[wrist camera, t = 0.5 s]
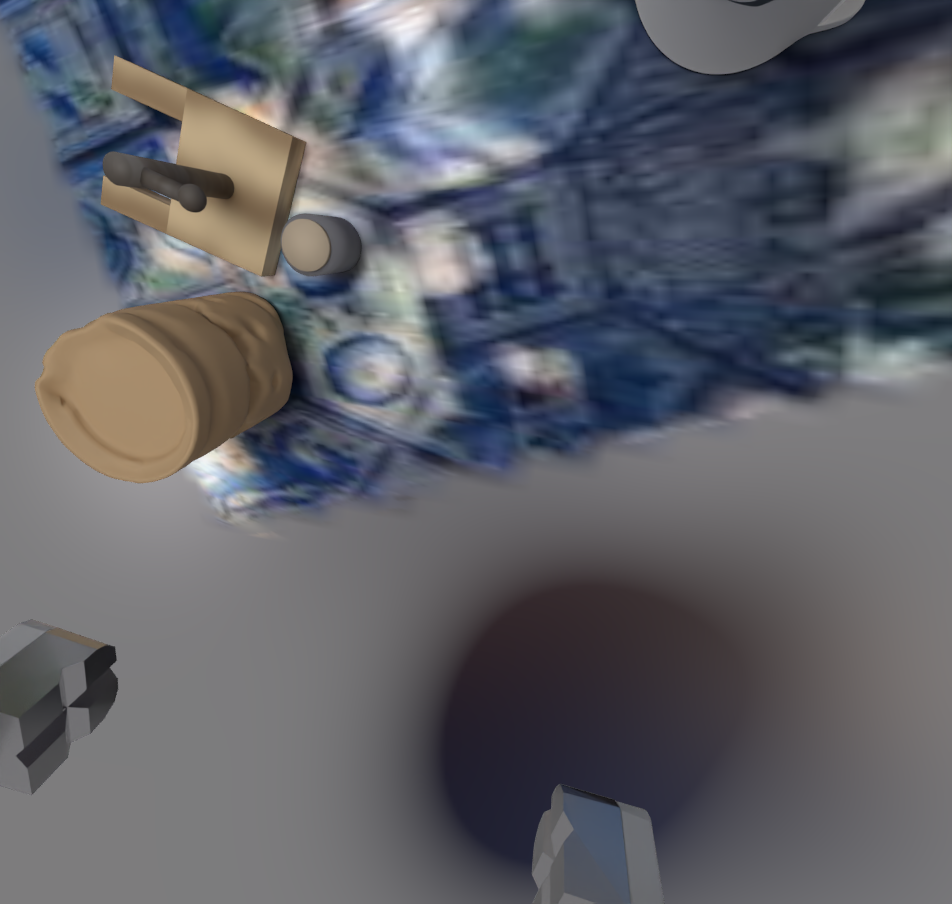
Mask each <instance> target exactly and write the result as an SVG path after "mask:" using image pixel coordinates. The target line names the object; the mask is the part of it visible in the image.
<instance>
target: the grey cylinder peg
mask: <svg viewBox="0 0 952 904" xmlns="http://www.w3.org/2000/svg"><path fill="white" fill-rule="evenodd" d="M281 249H282V252H283V255H284V257H285V259H286V261H287V262H288V264H289V265H290V266H291V267H292V268H293V269H294V270H295V271H297V272H299V273H300V274H303V275H306V276H318V275H325V274H332V273H340V272H345V271H348V270H350V269H351V268H353V267H354V266H355V265H356V263H357V262H358V260H359V258H360V254H361V240H360V237H359V234H358V232H357V231H356V229H355V228H354V226H353V225H352V224H351V223H349V222H348V221H346V220H345V219H342V218H339V217H332V216H323V215H313V214H299V215H296V216H294V217H292V218H291V219H290V220H288V222H287V223H286V224H285V226H284V228H283V230H282V233H281Z"/></svg>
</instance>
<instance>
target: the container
mask: <svg viewBox="0 0 952 904" xmlns="http://www.w3.org/2000/svg"><path fill="white" fill-rule="evenodd" d="M42 363H43V365H44V369H43V372H42V375H41V376H40V378H38V379H37V381H36V382H35V391H36V395H37V398H38V401H39V404H40V407H41V410H42V412H43V414H44V416H45V418H46V420H47V422H48V424H49V425H50V427H51V428H52V430H53V431H54V432H55V434H56V435H57V437H58V438H59V439H60V441H61V442H62V443H63V444H64V445H65V446H66V448H68V449H69V450H70V451H71V452H72V453H73V454H74V455H75V456H76V457H78V458H79V459H80V460H81V461H82V462H84V463H85V464H86V465H88V466H90V467H91V468H93V469H94V470H96V471H98V472H99V473H102V474H104V475H106V476H108V477H111V478H114V479H119V480H123V481H130V482H135V483H148V482H153V481H158V480H161V479H164V478H167V477H169V476H171V475H173V474H174V473H176V472H177V471H179V470H180V469H182V468H184V467H186V466H187V465H188V464H190V463H191V462H192V461H194V460H196V459H198V458H200V457H202V456H204V455H206V454H207V453H209V452H210V451H212V450H214V449H215V448H217V447H218V446H220V445H221V444H223V443H224V442H225V441H227V440H228V439H229V438H233V437H235V436H237V435H238V434H240V433H242V432H243V431H245V430H247V429H249V428H251V427H253V426H254V425H256V424H258V423H259V422H261V421H263V420H264V419H266V418H268V417H269V416H271V415H273V414H274V413H276V412H277V411H279V410H280V409H281V408H282V407H283V406H284V405H285V404H286V402H287V401H288V399H289V395H290V391H291V386H292V379H293V374H292V368H291V364H290V360H289V357H288V353H287V348H286V343H285V338H284V330H283V326H282V323H281V322H280V318H279V316H278V314H277V312H276V310H275V309H274V307H273V306H272V305H270V304H269V303H268V302H267V301H266V300H265V299H263V298H261V297H259V296H258V295H256V294H252V293H248V292H230V293H223V294H216V295H209V296H203V297H196V298H190V299H183V300H176V301H170V302H164V303H156V304H150V305H144V306H137V307H132V308H126V309H121V310H118V311H115V312H113V313H107V314H105V315H103V316H101V317H99V318H98V319H96V320H94V321H92V322H90V323H88V324H87V325H85V326H84V327H82V328H78V329H73V330H70V331H67V332H65V333H63V334H62V335H61V336H60V337H59V338H58V339H57V341H56V342H55V343H54V344H53V346H51V347H50V348H49V349H48V350H47V352H46V353H45V355H44V358H43V362H42Z"/></svg>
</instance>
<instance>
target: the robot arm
mask: <svg viewBox="0 0 952 904" xmlns="http://www.w3.org/2000/svg"><path fill="white" fill-rule="evenodd" d="M635 2H636V6H637V10H638V13H639V16H640V19H641V21H642V23H643V26H644V28H645V30H646V31H647V33H648V35H649V37H650V38H651V40H652V41H653V42H654V44H655V45H656V46H657V47H658V48H659V49H660V51H661V52H662V53H664V54H665V55H666V56H667V57H668V58H669V59H671V60H672V61H674V62H675V63H677V64H679V65H680V66H682V67H685V68H687V69H689V70H693V71H696V72H700V73H706V74H729V73H735V72H740V71H743V70H747V69H750V68H752V67H755V66H757V65H759V64H762V63H764V62H766V61H767V60H769V59H771V58H773V57H774V56H776V55H777V54H779V53H780V52H782V51H783V50H785V49H786V48H787V47H789V46H790V45H792V44H793V43H794V42H796V41H797V40H799V39H801V38H802V37H804V36H806V35H808V34H811V33H815V32H820V31H823V30H827V29H831V28H834V27H837V26H839V25H842V24H844V23H846V22H847V21H849V20H850V19H851V18H852V17H853V16H854V15H855V14H856V13H857V12H858V11H859V10H860V9H861V7H862V6H863V4H864V2H865V0H635ZM116 660H117V659H116V651H115V647H114V646H111V645H108V644H105V643H102V642H99V641H96V640H93V639H90V638H87V637H84V636H81V635H78V634H75V633H72V632H69V631H66V630H63V629H61V628H58V627H55V626H51V625H48V624H45V623H42V622H39V621H36V620H32V619H31V620H28V621H25V622H22V623H19V624H17V625H16V626H14V627H13V628H11V629H10V630H9V631H7V632H6V633H4V634H3V635H1V636H0V786H2V787H5V788H9V789H12V790H16V791H19V792H23V793H26V794H29V795H32V794H33V793H34V792H35V791H36V790H37V789H38V788H39V787H40V786H41V785H42V784H43V783H44V782H45V781H46V780H47V779H48V778H49V777H50V776H51V775H52V774H53V772H54V771H55V770H56V769H57V768H58V767H59V766H60V765H61V764H62V763H63V762H64V761H65V760H66V759H67V758H68V755H69V749H70V745H71V742H74V741H76V740H78V739H80V738H82V737H84V736H87V735H89V734H91V733H92V732H93V730H94V729H95V728H96V727H97V726H98V725H99V724H100V723H101V722H102V721H103V719H104V718H105V717H106V715H107V713H108V711H109V710H110V708H111V707H112V705H113V703H114V702H115V698H116V695H117V691H118V678H117V677H116V676H115V674H114V673H113V671H112V670H111V669H110V667H111V665H113V664H114V663H115V662H116ZM532 876H533V877H534V880H535V882H536V884H537V886H538V888H539V891H538V893H537V895H536V897H535V899H534V901H533V903H532V904H664V898H663V893H662V887H661V880H660V873H659V868H658V861H657V856H656V849H655V843H654V837H653V831H652V825H651V819H650V817H649V815H648V813H647V811H646V810H644V809H641V808H637V807H634V806H630V805H627V804H623V803H620V802H616V801H615V800H614V799H610V798H607V797H603V796H600V795H596V794H593V793H590V792H586V791H583V790H579V789H576V788H573V787H569V786H566V785H562V784H559V785H558V786H557V787H556V789H555V790H554V793H553V795H552V806H551V809H550V810H548V811H546V812H544V814H543V816H542V819H541V821H540V823H539V826H538V830H537V835H536V839H535V844H534V853H533V866H532Z"/></svg>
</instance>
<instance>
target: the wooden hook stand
mask: <svg viewBox="0 0 952 904" xmlns="http://www.w3.org/2000/svg"><path fill="white" fill-rule="evenodd" d="M111 89H112V90H114V91H117V92H119V93H121V94H123V95H125V96H128V97H130V98H132V99H134V100H136V101H139V102H141V103H143V104H145V105H147V106H150V107H152V108H154V109H156V110H158V111H161V112H163V113H165V114H167V115H169V116H172V117H174V118H176V119H178V120H180V121H182V128H181V135H180V142H179V149H178V155H177V162H176V164H172V163H167V162H163V161H158V160H153V159H148V158H143V157H138V156H133V155H128V154H123V153H118V152H109V153H108V154H106V155H105V157H104V159H103V170H104V173H105V175H106V176H103V185H102V196H101V205H104V206H106V207H108V208H110V209H113V210H115V211H117V212H119V213H121V214H124V215H126V216H128V217H130V218H133V219H135V220H137V221H139V222H141V223H144V224H146V225H148V226H150V227H153V228H155V229H157V230H159V231H161V232H164V233H166V234H168V235H170V236H172V237H175V238H177V239H179V240H181V241H184V242H186V243H188V244H190V245H192V246H195V247H197V248H199V249H201V250H204V251H206V252H208V253H210V254H212V255H215V256H217V257H219V258H221V259H224V260H226V261H228V262H230V263H232V264H235V265H237V266H239V267H241V268H243V269H246V270H248V271H250V272H252V273H255V274H257V275H259V276H270V275H275V272H276V268H277V263H278V259H279V255H280V251H281V233H282V230H283V228H284V226H285V224H286V223H287V221H288V216H289V212H290V208H291V204H292V199H293V195H294V191H295V187H296V182H297V178H298V174H299V170H300V165H301V161H302V157H303V153H304V148H305V144H306V142H305V141H302V140H300V139H298V138H296V137H294V136H292V135H289V134H287V133H285V132H283V131H281V130H278V129H276V128H274V127H272V126H270V125H267V124H265V123H263V122H261V121H259V120H257V119H254V118H252V117H250V116H248V115H246V114H243V113H241V112H239V111H237V110H235V109H232V108H230V107H228V106H226V105H224V104H222V103H219V102H217V101H215V100H213V99H211V98H208V97H206V96H204V95H202V94H200V93H197V92H195V91H193V90H191V89H189V88H186V87H184V86H182V85H180V84H178V83H176V82H173V81H171V80H169V79H167V78H165V77H162V76H160V75H158V74H156V73H154V72H151V71H149V70H147V69H145V68H143V67H141V66H138V65H136V64H134V63H131V62H129V61H126V60H124V59H122V58H119V57H117V56H114V67H113V77H112V88H111ZM148 189H149V190H148ZM151 190H154V191H156V192H158V193H160V194H163V195H165V196H167V197H169V198H171V200H170V199H168V198H166V197H164V196H162V195H159V194H157V193H155V192H153V191H151Z"/></svg>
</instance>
